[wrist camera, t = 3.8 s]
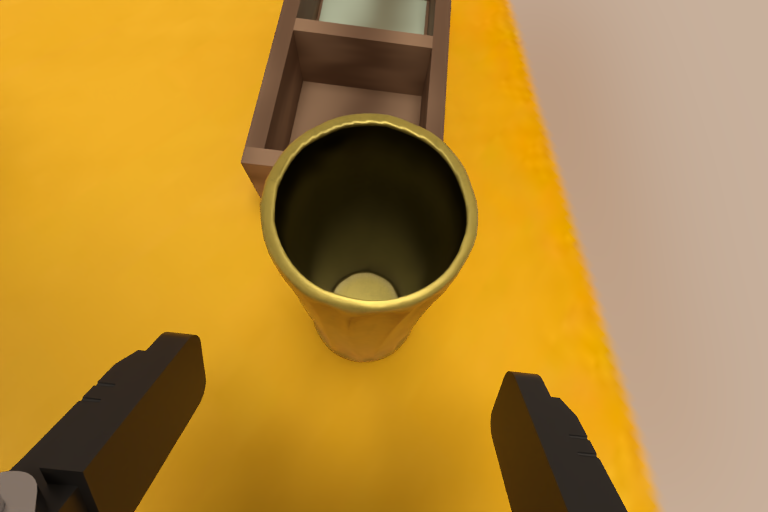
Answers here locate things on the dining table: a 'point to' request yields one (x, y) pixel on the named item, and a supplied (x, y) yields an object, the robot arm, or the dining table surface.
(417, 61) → the wooden compartment tray
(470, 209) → the vase
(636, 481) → the dining table surface
